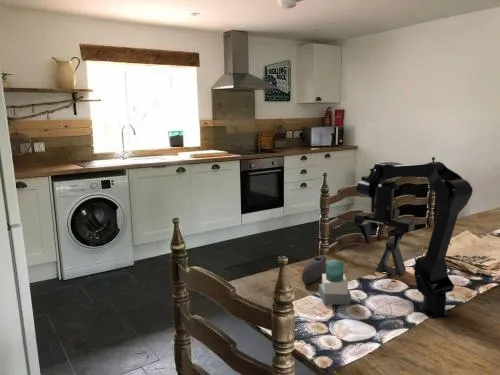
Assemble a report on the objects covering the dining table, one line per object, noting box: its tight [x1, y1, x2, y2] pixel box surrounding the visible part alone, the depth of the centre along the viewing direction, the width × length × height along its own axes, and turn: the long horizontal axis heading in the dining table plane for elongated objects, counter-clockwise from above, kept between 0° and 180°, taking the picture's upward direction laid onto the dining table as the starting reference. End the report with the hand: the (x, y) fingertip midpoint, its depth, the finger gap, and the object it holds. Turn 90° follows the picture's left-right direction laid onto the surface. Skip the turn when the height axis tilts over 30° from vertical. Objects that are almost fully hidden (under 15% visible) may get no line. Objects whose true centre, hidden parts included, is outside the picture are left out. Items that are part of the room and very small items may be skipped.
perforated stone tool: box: [301, 254, 327, 285], centre depth 138 cm, size 15×5×7 cm, turn 141°
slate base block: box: [318, 283, 352, 306], centre depth 124 cm, size 8×8×4 cm
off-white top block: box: [321, 273, 349, 294], centre depth 124 cm, size 7×7×4 cm
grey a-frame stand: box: [375, 236, 407, 277], centre depth 144 cm, size 9×6×12 cm, turn 54°
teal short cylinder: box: [325, 259, 345, 282], centre depth 123 cm, size 5×5×5 cm
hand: (381, 246), depth 132 cm, fingers open, 9 cm apart
